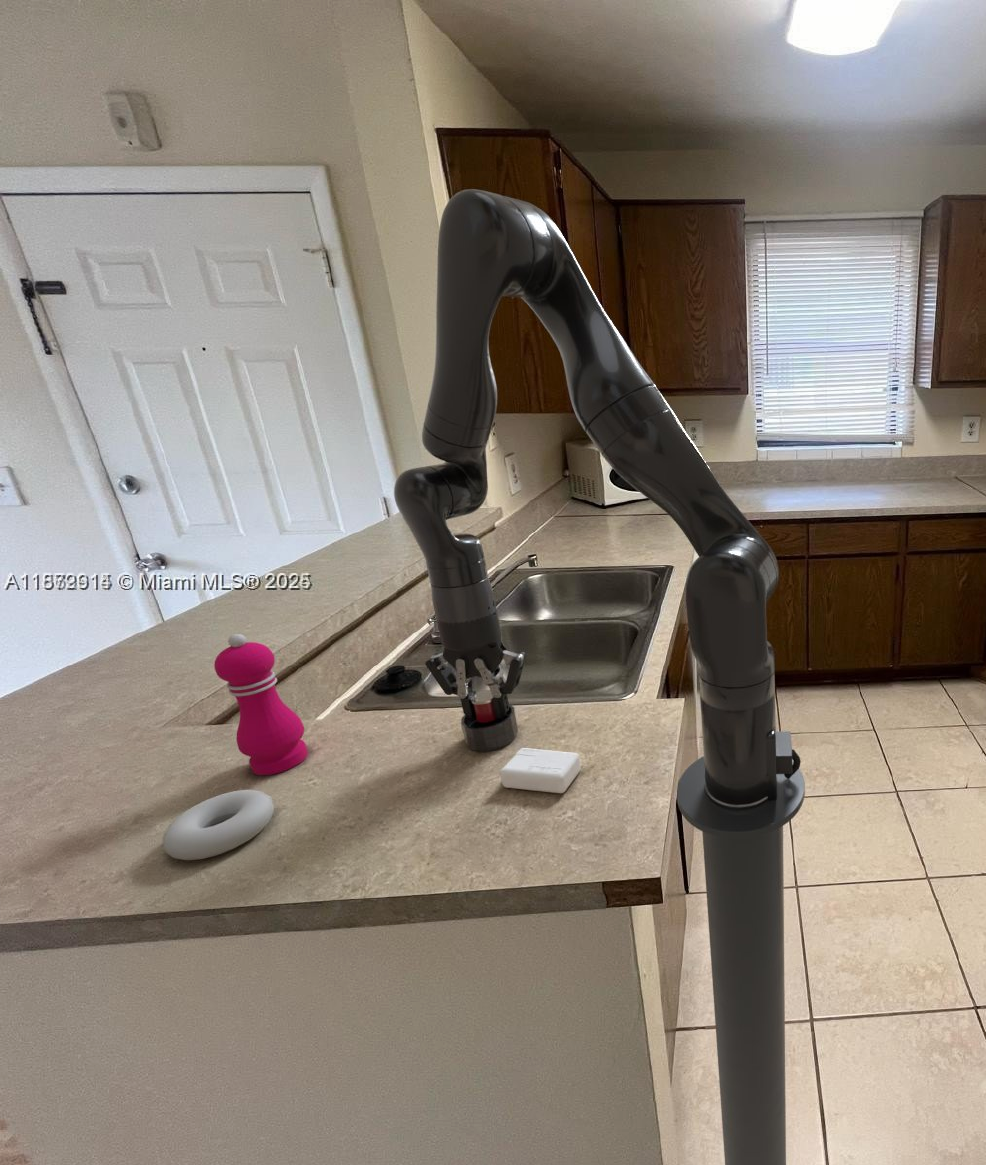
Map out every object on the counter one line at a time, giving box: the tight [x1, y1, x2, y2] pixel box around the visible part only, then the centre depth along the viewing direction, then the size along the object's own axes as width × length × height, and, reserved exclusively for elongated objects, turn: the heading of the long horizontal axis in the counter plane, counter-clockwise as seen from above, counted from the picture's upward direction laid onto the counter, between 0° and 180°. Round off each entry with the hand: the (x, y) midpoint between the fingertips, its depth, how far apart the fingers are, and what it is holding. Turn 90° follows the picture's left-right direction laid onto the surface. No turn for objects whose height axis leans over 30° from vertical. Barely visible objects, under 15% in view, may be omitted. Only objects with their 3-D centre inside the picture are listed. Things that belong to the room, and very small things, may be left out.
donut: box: [162, 789, 275, 861], centre depth 71 cm, size 10×4×10 cm
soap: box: [499, 747, 582, 794], centre depth 80 cm, size 9×6×3 cm, turn 81°
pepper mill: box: [213, 633, 309, 776], centre depth 81 cm, size 7×7×20 cm
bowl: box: [460, 703, 519, 753], centre depth 89 cm, size 7×7×4 cm
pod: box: [470, 689, 496, 723], centre depth 87 cm, size 4×4×4 cm
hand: (488, 715), depth 88 cm, fingers closed on pod, 3 cm apart
